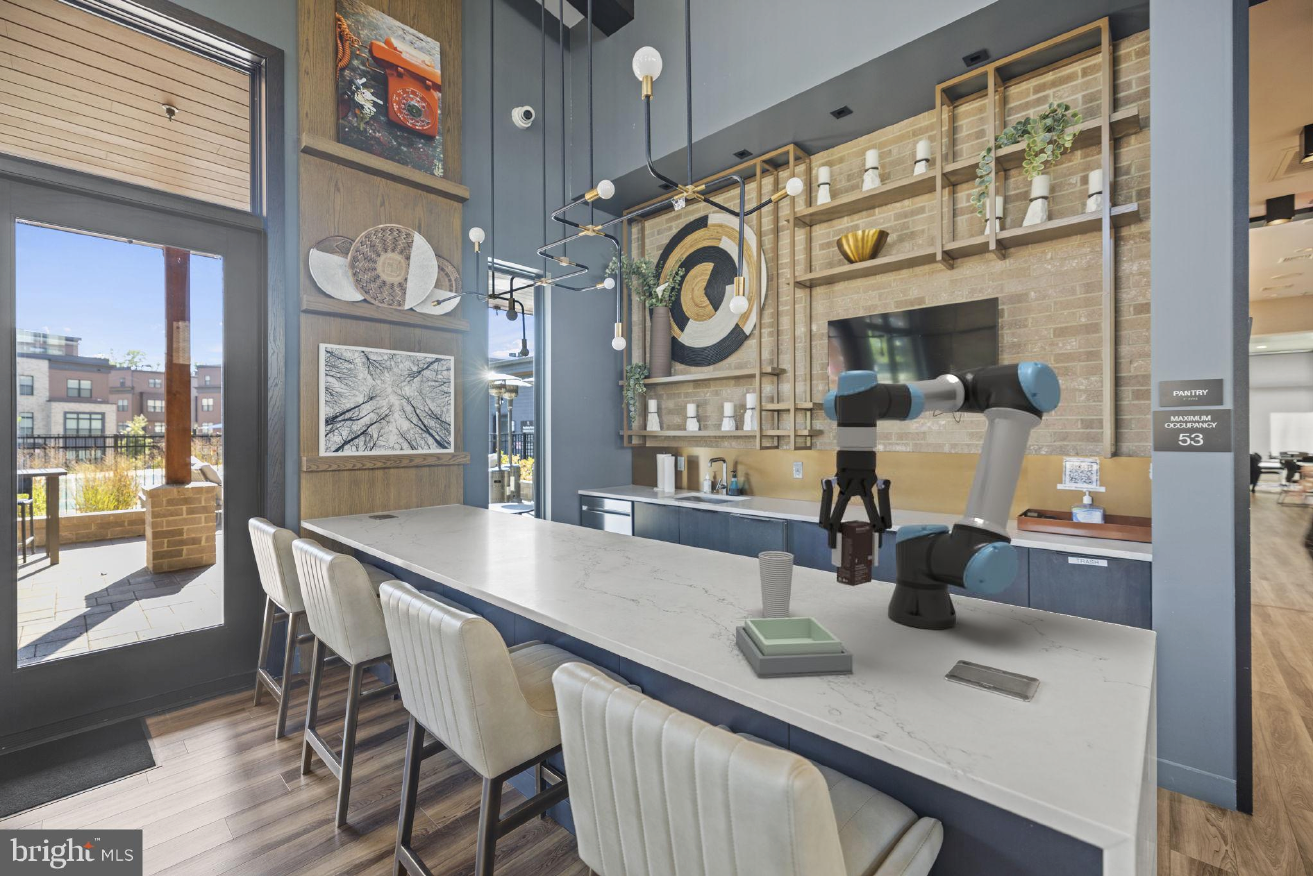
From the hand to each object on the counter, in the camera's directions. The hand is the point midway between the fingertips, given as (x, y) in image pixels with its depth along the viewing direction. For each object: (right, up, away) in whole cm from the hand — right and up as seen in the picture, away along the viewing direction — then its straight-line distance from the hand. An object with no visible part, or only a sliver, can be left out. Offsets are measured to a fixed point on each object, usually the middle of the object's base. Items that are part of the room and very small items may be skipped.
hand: (854, 564), depth 115 cm
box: (0, -4, 0) cm, 4 cm away
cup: (-10, -19, +28) cm, 35 cm away
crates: (-12, -19, +2) cm, 23 cm away
